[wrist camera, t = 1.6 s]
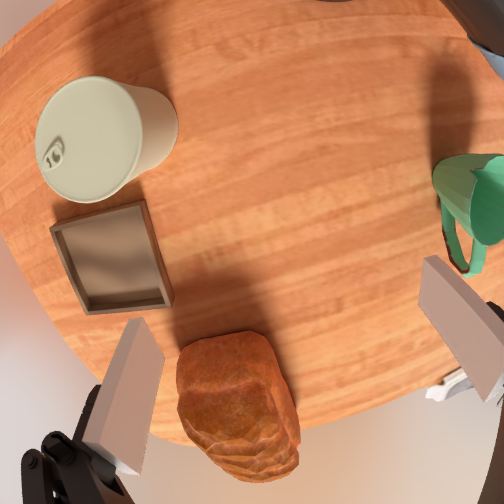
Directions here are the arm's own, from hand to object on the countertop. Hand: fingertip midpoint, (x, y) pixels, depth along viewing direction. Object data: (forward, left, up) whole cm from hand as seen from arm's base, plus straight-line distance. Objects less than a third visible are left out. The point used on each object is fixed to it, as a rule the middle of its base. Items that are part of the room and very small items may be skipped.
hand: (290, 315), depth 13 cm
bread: (+31, -6, -20) cm, 37 cm away
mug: (+3, +23, -20) cm, 31 cm away
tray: (+5, -19, -20) cm, 27 cm away
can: (-9, -12, -20) cm, 25 cm away
